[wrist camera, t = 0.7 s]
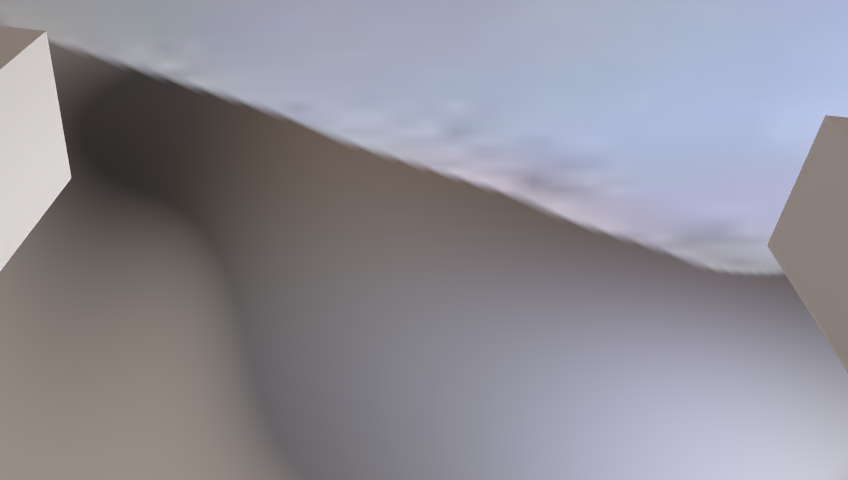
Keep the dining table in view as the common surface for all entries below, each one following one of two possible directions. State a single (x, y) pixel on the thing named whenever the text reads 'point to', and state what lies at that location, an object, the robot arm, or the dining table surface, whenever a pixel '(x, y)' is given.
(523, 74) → the dining table surface
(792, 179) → the dining table surface
